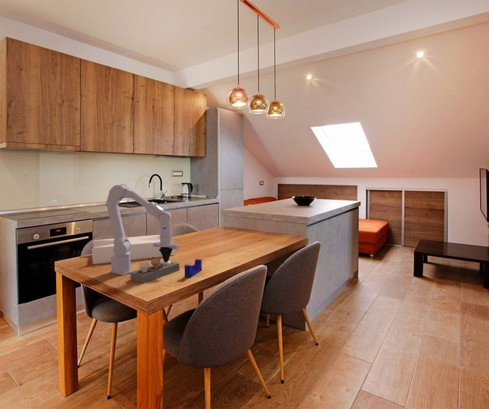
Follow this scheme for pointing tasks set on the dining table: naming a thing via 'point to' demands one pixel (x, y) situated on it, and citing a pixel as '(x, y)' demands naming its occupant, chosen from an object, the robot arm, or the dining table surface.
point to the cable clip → (193, 268)
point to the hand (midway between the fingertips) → (166, 261)
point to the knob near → (144, 266)
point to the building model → (139, 250)
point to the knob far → (166, 263)
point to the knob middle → (155, 263)
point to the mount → (153, 272)
